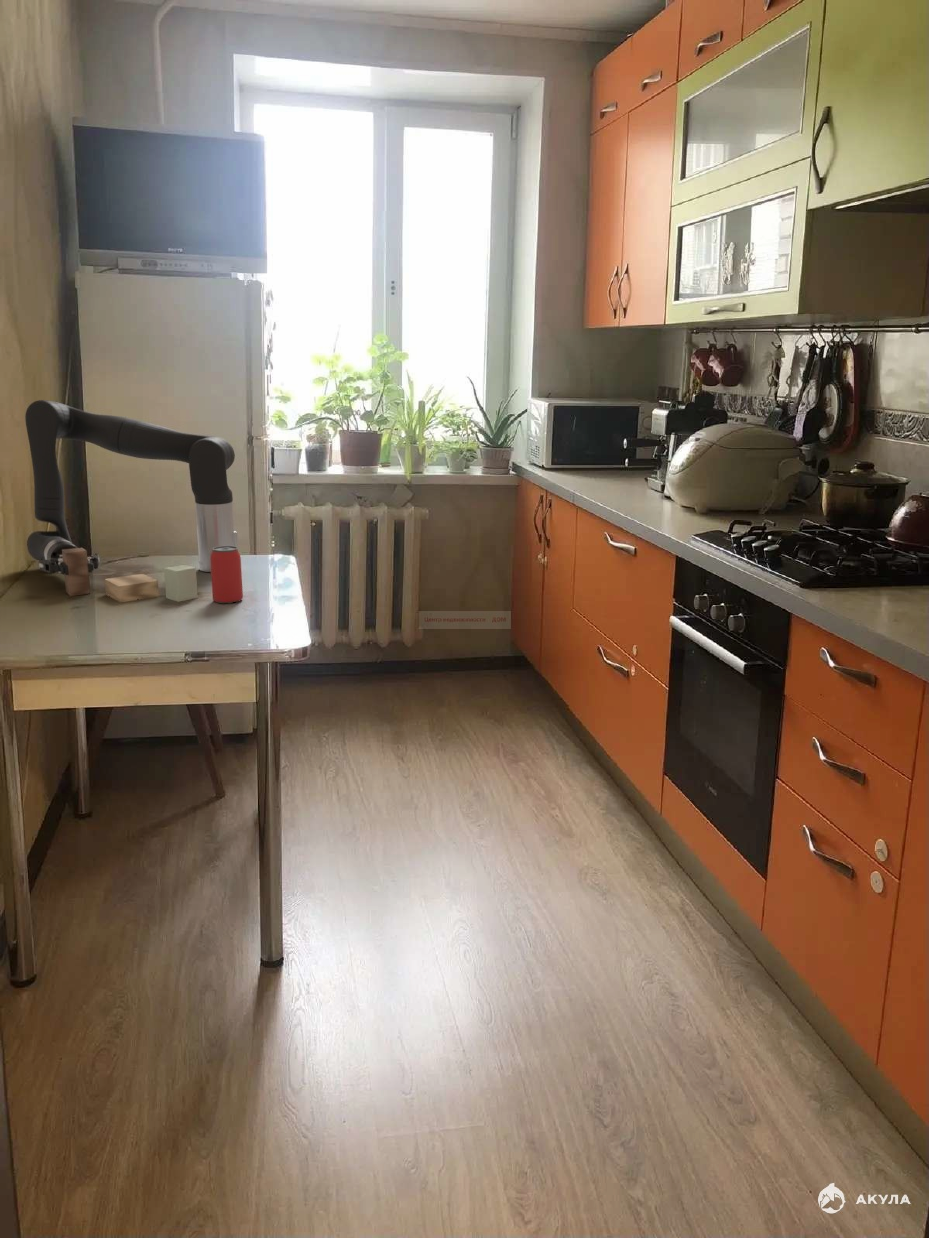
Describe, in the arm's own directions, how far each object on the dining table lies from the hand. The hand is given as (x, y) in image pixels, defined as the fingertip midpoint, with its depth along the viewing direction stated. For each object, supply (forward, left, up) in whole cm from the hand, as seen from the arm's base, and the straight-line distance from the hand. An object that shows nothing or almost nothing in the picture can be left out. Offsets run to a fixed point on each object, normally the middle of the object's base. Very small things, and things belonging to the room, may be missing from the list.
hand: (78, 569), depth 228 cm
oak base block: (-10, +6, -6) cm, 13 cm away
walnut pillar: (0, -3, -6) cm, 7 cm away
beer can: (-27, +22, -6) cm, 36 cm away
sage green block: (-19, +14, -6) cm, 24 cm away
